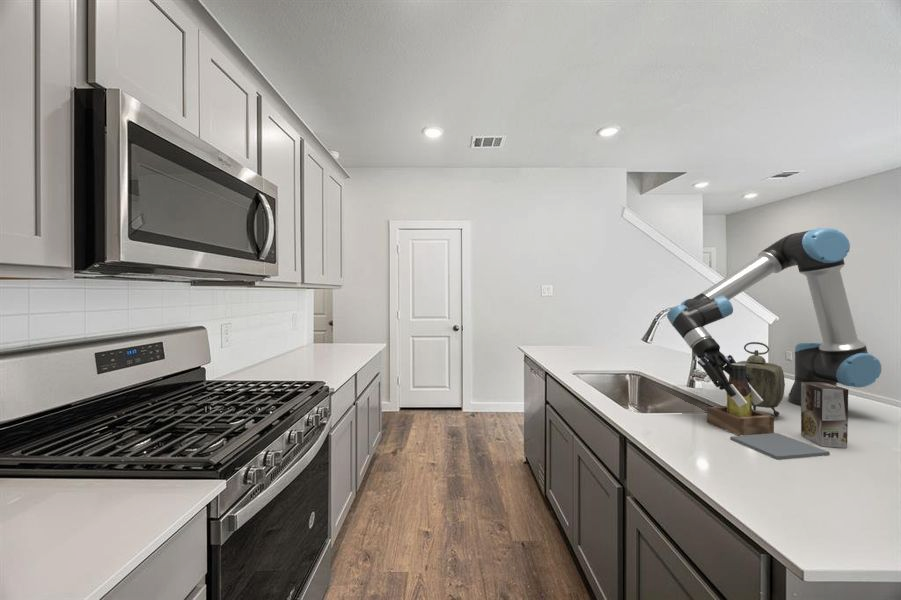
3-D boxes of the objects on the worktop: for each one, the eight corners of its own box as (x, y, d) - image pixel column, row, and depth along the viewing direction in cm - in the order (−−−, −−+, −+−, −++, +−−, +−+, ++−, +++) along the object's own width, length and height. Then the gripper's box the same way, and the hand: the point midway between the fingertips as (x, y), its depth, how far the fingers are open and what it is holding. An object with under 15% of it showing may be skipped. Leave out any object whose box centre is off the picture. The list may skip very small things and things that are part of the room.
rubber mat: (777, 435, 118) (777, 433, 118) (829, 455, 104) (829, 451, 104) (730, 439, 115) (730, 436, 115) (777, 459, 101) (777, 456, 101)
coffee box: (848, 448, 108) (850, 389, 108) (821, 446, 110) (822, 388, 109) (824, 436, 117) (825, 381, 117) (799, 434, 119) (800, 380, 118)
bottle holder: (738, 420, 132) (739, 405, 132) (773, 433, 120) (774, 416, 120) (706, 422, 130) (706, 407, 130) (739, 435, 118) (739, 418, 118)
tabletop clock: (784, 416, 136) (785, 343, 135) (780, 422, 130) (781, 345, 129) (733, 407, 146) (734, 339, 146) (727, 412, 140) (727, 341, 140)
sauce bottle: (756, 431, 121) (756, 366, 121) (732, 430, 122) (733, 366, 122) (744, 424, 128) (745, 362, 127) (722, 423, 129) (723, 362, 128)
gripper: (714, 348, 142) (763, 407, 127) (674, 351, 136) (720, 413, 121) (729, 335, 137) (782, 394, 122) (688, 338, 131) (738, 400, 116)
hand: (751, 403), depth 121 cm, fingers closed on sauce bottle, 6 cm apart
